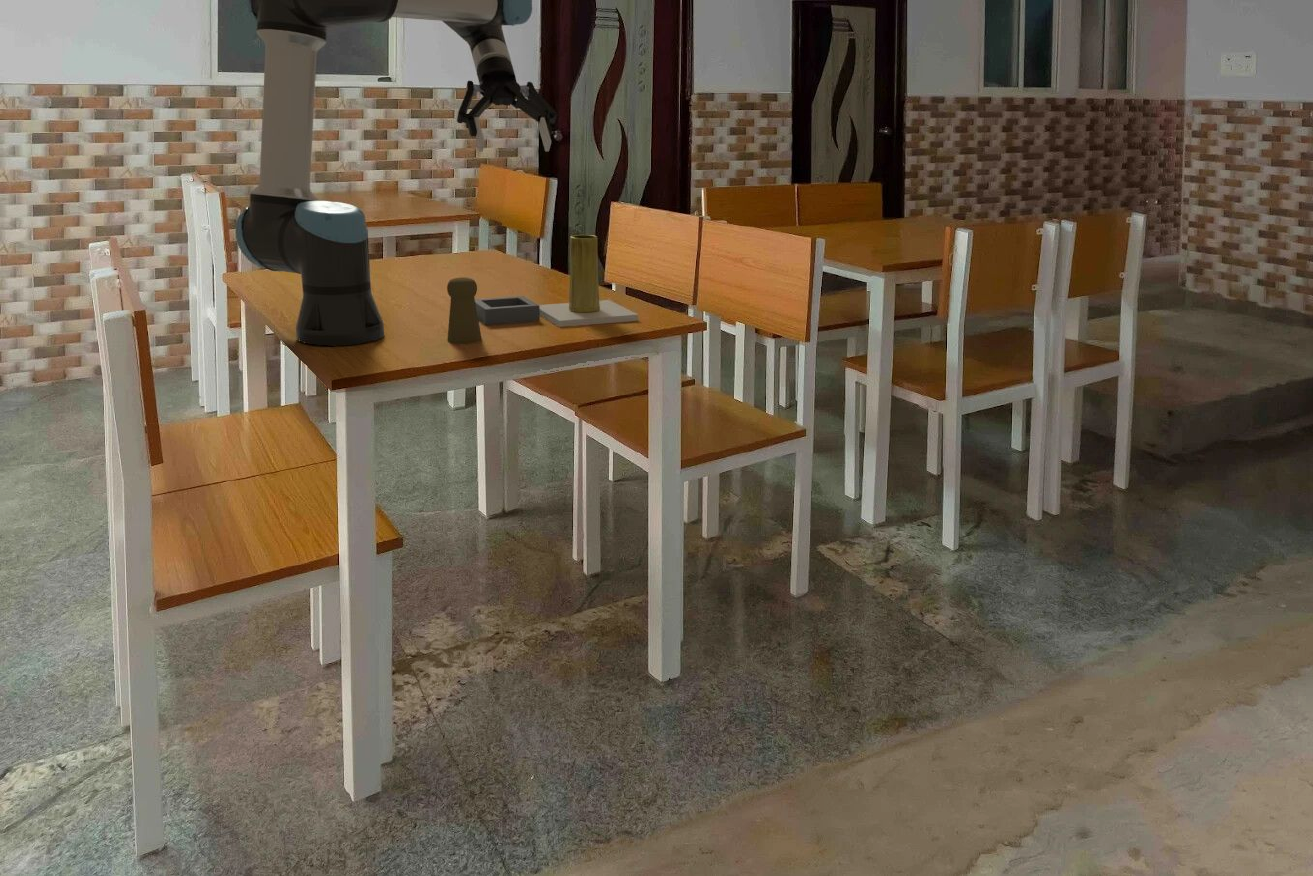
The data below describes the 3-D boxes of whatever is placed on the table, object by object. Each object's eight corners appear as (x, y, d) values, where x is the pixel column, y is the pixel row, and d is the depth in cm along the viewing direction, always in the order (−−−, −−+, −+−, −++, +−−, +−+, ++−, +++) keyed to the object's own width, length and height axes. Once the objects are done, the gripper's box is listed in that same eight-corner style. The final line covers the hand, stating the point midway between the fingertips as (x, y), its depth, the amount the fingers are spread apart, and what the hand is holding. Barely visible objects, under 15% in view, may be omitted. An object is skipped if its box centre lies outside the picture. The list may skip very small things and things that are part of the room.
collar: (485, 325, 209) (485, 309, 208) (472, 314, 218) (471, 299, 217) (539, 320, 213) (539, 305, 212) (523, 310, 222) (523, 295, 221)
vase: (563, 311, 216) (562, 237, 211) (577, 305, 221) (576, 233, 217) (591, 313, 214) (591, 239, 209) (605, 308, 219) (604, 235, 215)
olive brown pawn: (466, 334, 201) (463, 274, 198) (488, 339, 198) (486, 277, 194) (440, 340, 197) (436, 278, 193) (463, 345, 193) (460, 282, 190)
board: (559, 326, 208) (559, 320, 207) (534, 311, 222) (533, 305, 221) (638, 320, 214) (638, 314, 213) (608, 305, 228) (608, 299, 227)
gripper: (548, 82, 236) (571, 159, 228) (431, 80, 227) (450, 160, 218) (555, 55, 230) (579, 133, 221) (435, 52, 221) (455, 133, 212)
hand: (515, 146), depth 220 cm, fingers open, 13 cm apart
